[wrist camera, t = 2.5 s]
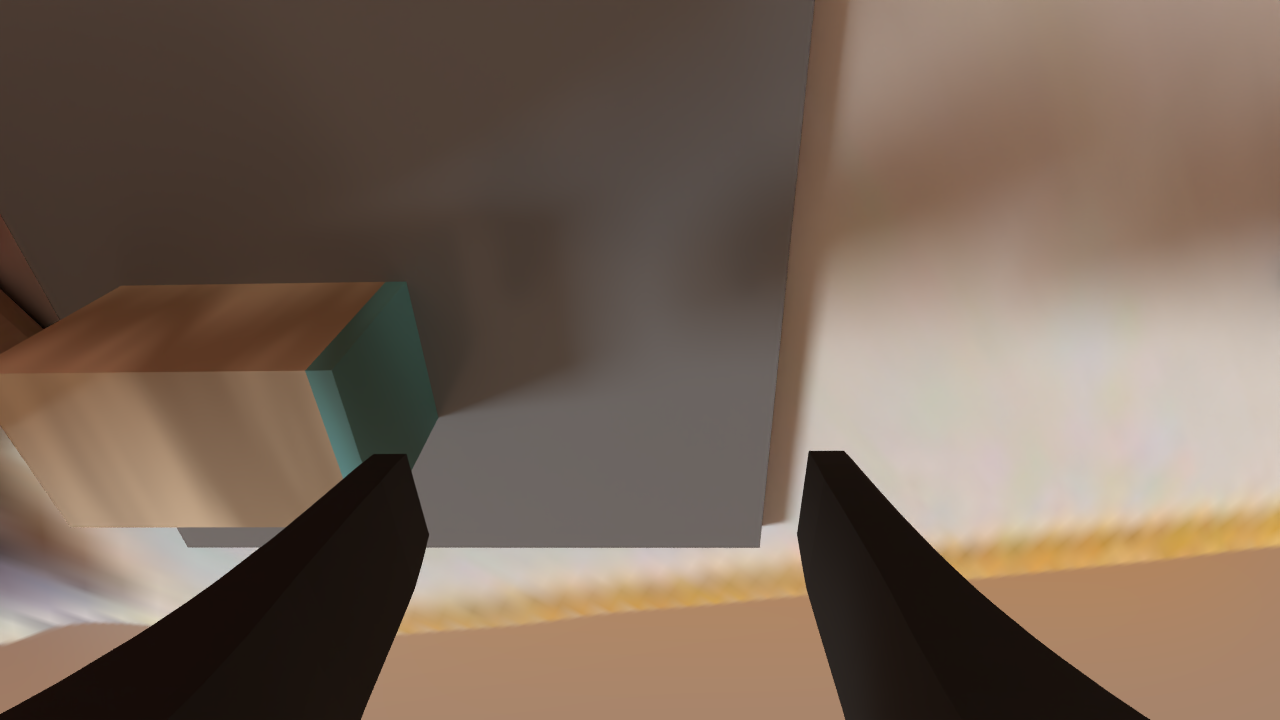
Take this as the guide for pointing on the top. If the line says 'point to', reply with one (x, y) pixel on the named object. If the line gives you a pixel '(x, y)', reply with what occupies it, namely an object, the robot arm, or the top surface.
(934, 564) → the robot arm
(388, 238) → the slate board
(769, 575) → the top surface
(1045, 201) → the top surface
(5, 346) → the block
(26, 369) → the beech block
